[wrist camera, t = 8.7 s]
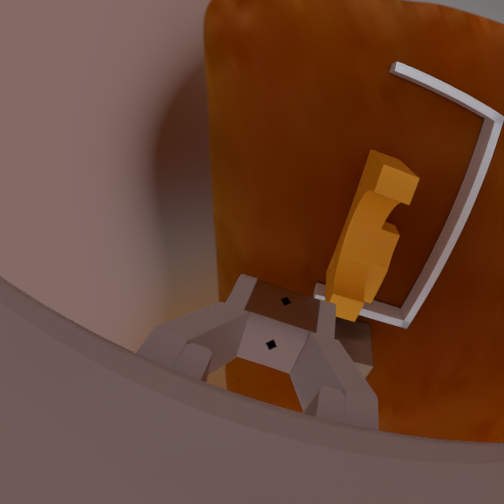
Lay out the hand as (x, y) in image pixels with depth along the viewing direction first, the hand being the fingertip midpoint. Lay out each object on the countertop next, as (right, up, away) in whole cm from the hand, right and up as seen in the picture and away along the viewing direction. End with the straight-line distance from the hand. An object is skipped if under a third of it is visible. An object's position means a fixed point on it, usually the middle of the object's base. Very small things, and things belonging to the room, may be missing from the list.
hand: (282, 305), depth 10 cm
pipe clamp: (+9, +4, +17) cm, 20 cm away
